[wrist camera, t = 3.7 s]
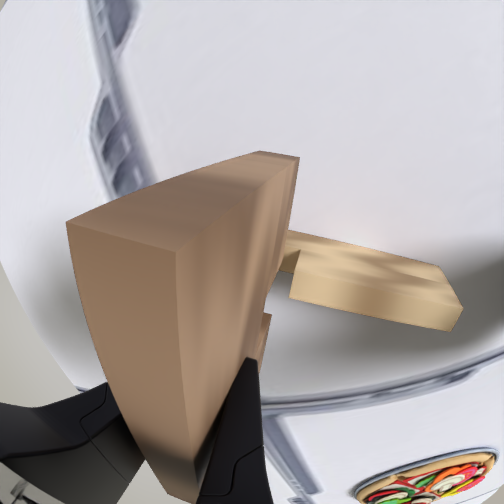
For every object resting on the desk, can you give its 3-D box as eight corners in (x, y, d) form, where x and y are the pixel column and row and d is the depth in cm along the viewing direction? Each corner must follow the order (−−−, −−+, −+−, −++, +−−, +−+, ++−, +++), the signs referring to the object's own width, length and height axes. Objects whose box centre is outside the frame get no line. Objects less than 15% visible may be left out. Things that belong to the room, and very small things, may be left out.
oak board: (438, 266, 16) (463, 308, 11) (430, 286, 17) (450, 332, 12) (139, 200, 20) (94, 221, 16) (139, 219, 21) (96, 244, 16)
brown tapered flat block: (259, 150, 11) (65, 221, 3) (299, 157, 10) (175, 252, 2) (233, 364, 16) (167, 493, 8) (259, 371, 16) (202, 507, 8)
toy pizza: (399, 505, 36) (398, 520, 32) (323, 486, 35) (319, 506, 31) (509, 458, 23) (512, 474, 19) (475, 426, 21) (480, 453, 17)
